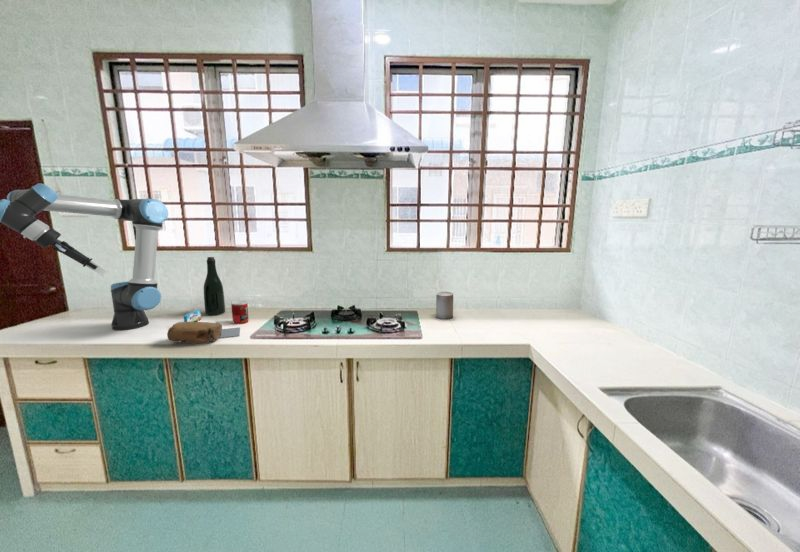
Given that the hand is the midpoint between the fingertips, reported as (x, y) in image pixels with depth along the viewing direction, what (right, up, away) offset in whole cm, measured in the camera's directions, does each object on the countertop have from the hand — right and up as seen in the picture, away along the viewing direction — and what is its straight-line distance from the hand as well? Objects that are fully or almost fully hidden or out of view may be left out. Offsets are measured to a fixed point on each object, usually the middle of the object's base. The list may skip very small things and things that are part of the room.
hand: (104, 272), depth 147 cm
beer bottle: (+18, -23, +54) cm, 62 cm away
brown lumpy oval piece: (+23, -27, +10) cm, 36 cm away
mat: (+36, -30, +18) cm, 50 cm away
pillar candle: (+151, -25, +51) cm, 161 cm away
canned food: (+40, -26, +38) cm, 61 cm away
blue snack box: (+17, -27, +35) cm, 47 cm away
